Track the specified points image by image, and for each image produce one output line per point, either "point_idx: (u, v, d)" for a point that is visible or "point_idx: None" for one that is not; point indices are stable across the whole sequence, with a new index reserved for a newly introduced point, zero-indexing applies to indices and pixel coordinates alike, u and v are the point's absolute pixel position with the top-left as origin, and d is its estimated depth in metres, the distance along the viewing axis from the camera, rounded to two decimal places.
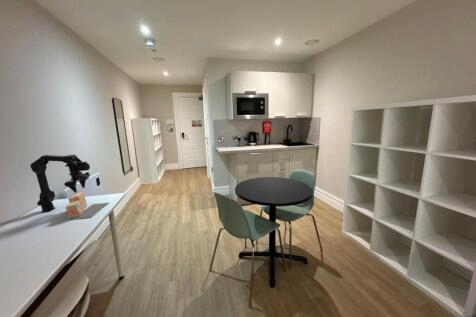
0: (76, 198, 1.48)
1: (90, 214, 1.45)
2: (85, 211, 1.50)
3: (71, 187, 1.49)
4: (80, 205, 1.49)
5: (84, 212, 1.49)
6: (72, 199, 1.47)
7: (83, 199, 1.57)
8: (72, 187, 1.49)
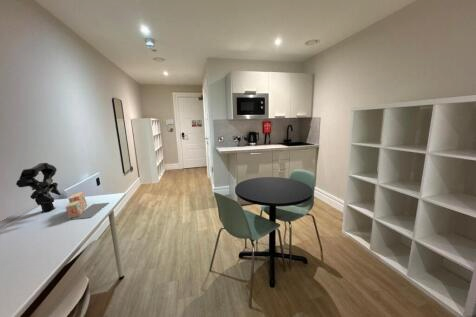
0: (76, 198, 1.48)
1: (90, 214, 1.45)
2: (85, 211, 1.50)
3: (42, 197, 1.41)
4: (80, 205, 1.48)
5: (84, 212, 1.49)
6: (72, 199, 1.47)
7: (83, 199, 1.57)
8: (43, 196, 1.41)
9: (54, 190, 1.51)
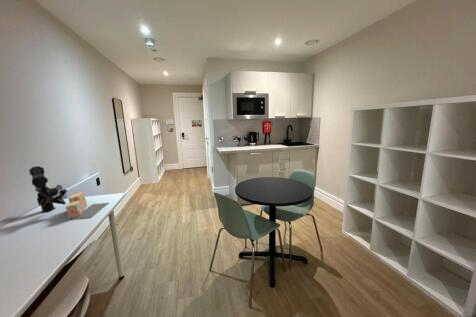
0: (76, 198, 1.48)
1: (90, 214, 1.45)
2: (85, 211, 1.50)
3: (56, 201, 1.46)
4: (80, 205, 1.48)
5: (84, 212, 1.49)
6: (72, 199, 1.47)
7: (83, 199, 1.57)
8: (57, 201, 1.46)
9: None
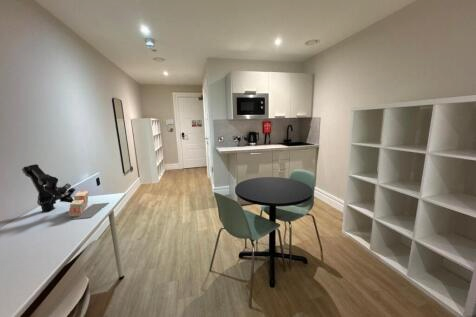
0: (82, 197, 1.49)
1: (90, 214, 1.45)
2: (85, 211, 1.50)
3: (65, 200, 1.47)
4: (83, 205, 1.49)
5: (84, 212, 1.49)
6: (77, 197, 1.48)
7: (86, 199, 1.58)
8: (66, 199, 1.47)
9: None
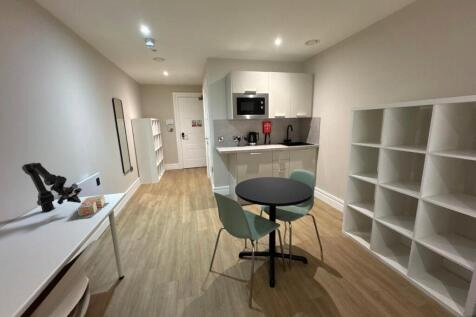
0: (99, 205, 1.55)
1: (90, 214, 1.45)
2: None
3: (72, 200, 1.47)
4: None
5: None
6: (99, 203, 1.54)
7: None
8: (73, 199, 1.47)
9: None
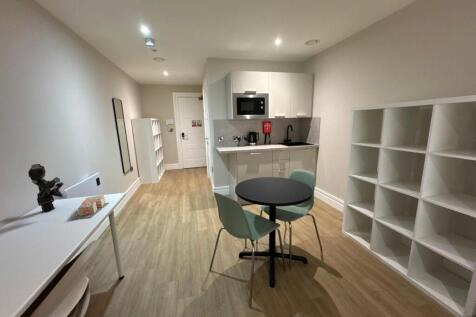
0: (99, 205, 1.55)
1: (90, 214, 1.45)
2: None
3: (53, 194, 1.46)
4: None
5: None
6: (99, 203, 1.54)
7: None
8: (54, 193, 1.46)
9: None
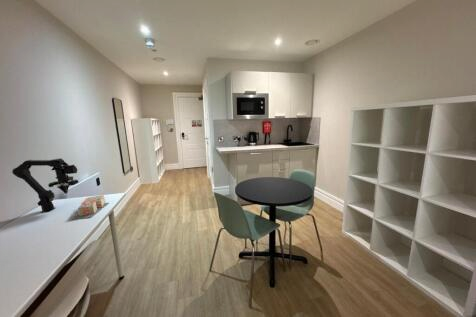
0: (99, 205, 1.55)
1: (90, 214, 1.45)
2: None
3: (65, 188, 1.56)
4: None
5: None
6: (99, 203, 1.54)
7: None
8: (66, 187, 1.57)
9: None
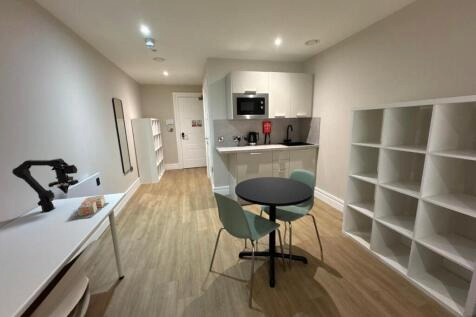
0: (99, 205, 1.55)
1: (90, 214, 1.45)
2: None
3: (66, 188, 1.56)
4: None
5: None
6: (99, 203, 1.54)
7: None
8: (66, 187, 1.57)
9: None
